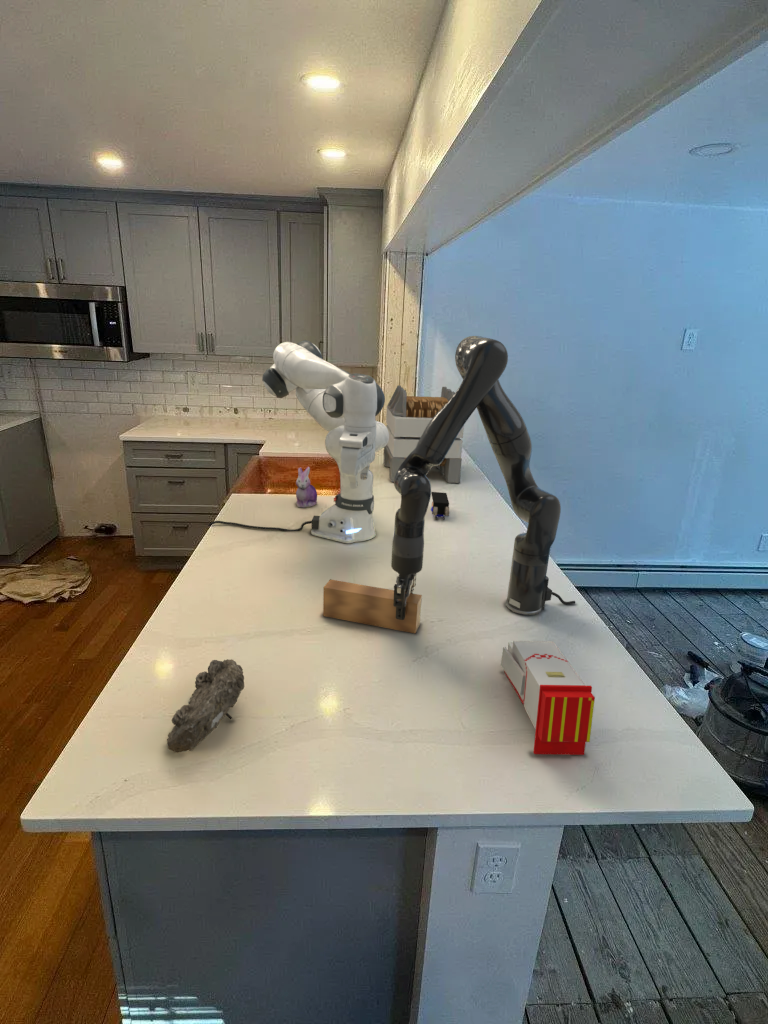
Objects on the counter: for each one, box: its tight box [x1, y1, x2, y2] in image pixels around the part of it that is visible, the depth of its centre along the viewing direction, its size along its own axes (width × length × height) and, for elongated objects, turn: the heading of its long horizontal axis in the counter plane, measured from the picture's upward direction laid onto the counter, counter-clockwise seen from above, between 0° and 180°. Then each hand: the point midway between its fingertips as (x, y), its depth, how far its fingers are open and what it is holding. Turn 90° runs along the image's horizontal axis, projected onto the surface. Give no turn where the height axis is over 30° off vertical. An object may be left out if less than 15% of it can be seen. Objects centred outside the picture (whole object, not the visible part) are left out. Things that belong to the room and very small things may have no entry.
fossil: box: [166, 658, 245, 754], centre depth 106 cm, size 22×10×15 cm
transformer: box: [383, 384, 465, 484], centre depth 268 cm, size 34×33×41 cm
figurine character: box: [430, 491, 450, 521], centre depth 218 cm, size 7×8×15 cm
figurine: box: [295, 466, 318, 508], centre depth 222 cm, size 9×10×15 cm
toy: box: [500, 640, 596, 756], centre depth 114 cm, size 12×13×30 cm
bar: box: [322, 579, 423, 634], centre depth 143 cm, size 24×5×8 cm, turn 74°
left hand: (359, 483), depth 160 cm, fingers open, 8 cm apart
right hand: (403, 611), depth 141 cm, fingers open, 6 cm apart
